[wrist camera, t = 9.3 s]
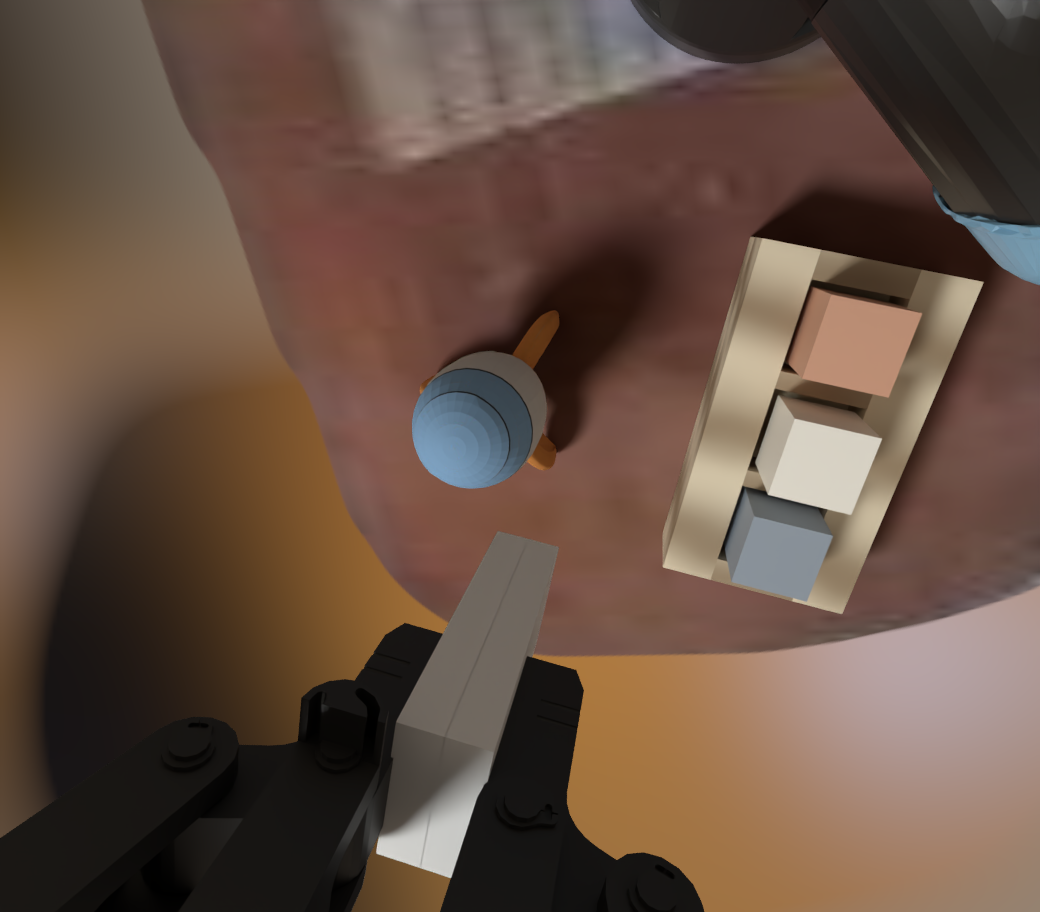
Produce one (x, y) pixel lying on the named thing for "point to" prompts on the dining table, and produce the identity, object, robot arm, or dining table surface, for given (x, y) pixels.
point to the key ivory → (816, 454)
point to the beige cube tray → (765, 374)
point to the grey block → (776, 544)
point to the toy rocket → (486, 414)
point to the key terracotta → (851, 341)
